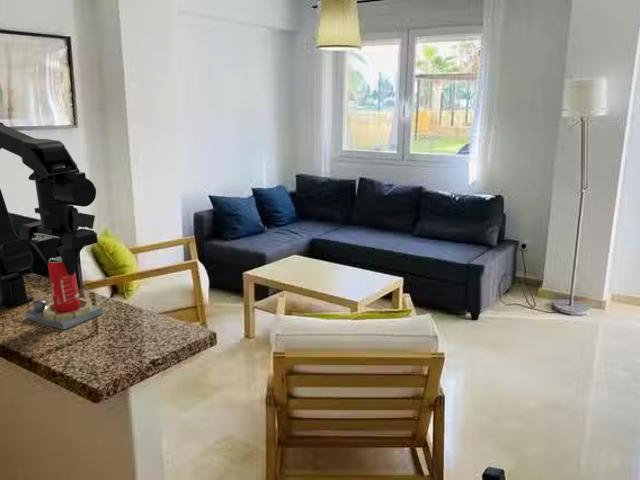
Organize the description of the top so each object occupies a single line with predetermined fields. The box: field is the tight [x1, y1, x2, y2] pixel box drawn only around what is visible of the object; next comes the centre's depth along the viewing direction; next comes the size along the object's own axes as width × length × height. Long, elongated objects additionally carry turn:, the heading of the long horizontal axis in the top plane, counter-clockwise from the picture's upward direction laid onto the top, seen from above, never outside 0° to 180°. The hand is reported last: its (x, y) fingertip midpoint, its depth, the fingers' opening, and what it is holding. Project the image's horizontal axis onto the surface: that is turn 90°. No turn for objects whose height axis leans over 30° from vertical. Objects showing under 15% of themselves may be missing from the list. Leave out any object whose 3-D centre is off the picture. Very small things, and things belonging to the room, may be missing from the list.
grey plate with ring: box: [25, 297, 104, 331], centre depth 127 cm, size 13×10×4 cm
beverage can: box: [47, 255, 80, 313], centre depth 125 cm, size 5×5×12 cm
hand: (63, 272), depth 124 cm, fingers open, 6 cm apart
